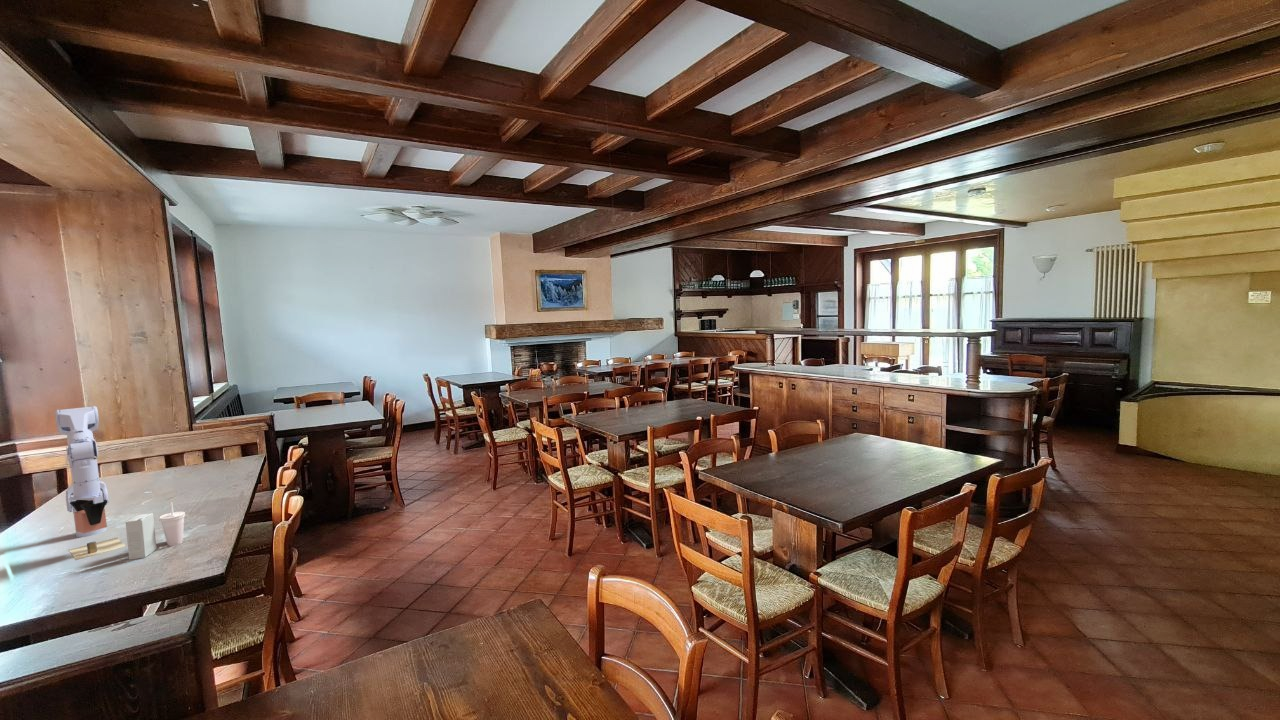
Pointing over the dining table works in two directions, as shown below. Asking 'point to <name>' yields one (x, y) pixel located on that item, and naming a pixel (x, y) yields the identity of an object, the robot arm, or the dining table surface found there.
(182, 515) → the smoothie
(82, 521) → the terracotta orange block
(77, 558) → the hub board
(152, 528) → the skincare box
